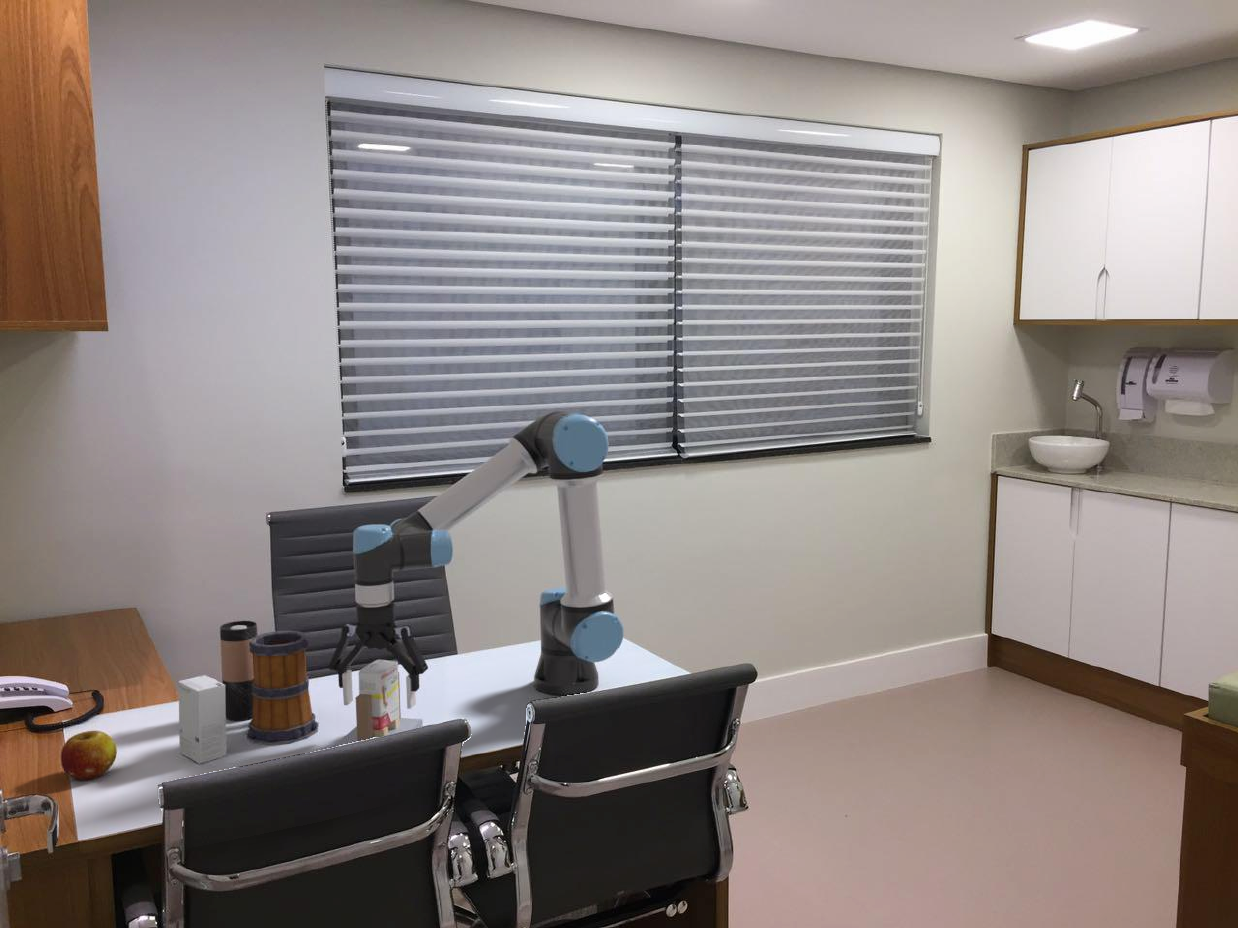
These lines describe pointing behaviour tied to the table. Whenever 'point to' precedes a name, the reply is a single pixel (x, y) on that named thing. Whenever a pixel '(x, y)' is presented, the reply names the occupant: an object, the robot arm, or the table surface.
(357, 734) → the peg cradle
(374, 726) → the ink box
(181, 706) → the skincare box
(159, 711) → the table surface
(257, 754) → the table surface
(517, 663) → the table surface
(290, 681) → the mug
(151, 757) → the table surface
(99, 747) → the fruit
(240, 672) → the travel mug
